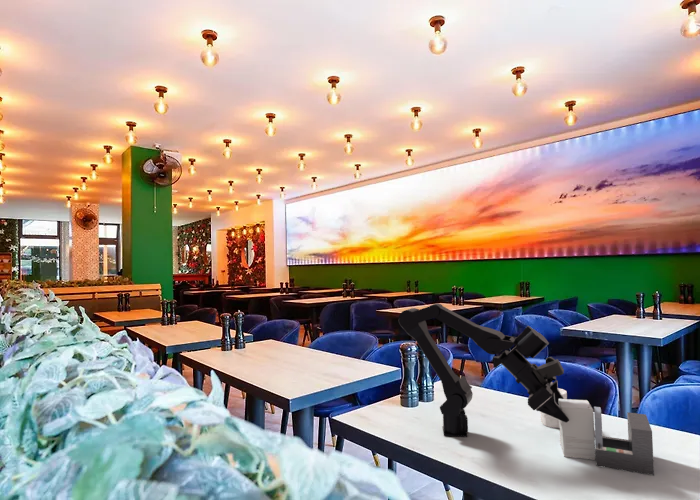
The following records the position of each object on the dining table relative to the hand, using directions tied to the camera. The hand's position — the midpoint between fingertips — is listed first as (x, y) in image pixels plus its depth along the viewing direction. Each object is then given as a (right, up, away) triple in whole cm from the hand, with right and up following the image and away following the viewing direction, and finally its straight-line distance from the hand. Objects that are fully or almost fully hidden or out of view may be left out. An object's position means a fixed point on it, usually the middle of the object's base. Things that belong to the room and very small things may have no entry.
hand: (568, 415), depth 114 cm
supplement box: (+2, -9, -1) cm, 10 cm away
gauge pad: (+6, -8, -4) cm, 11 cm away
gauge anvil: (+10, -9, -6) cm, 15 cm away
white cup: (+5, -10, +19) cm, 22 cm away
